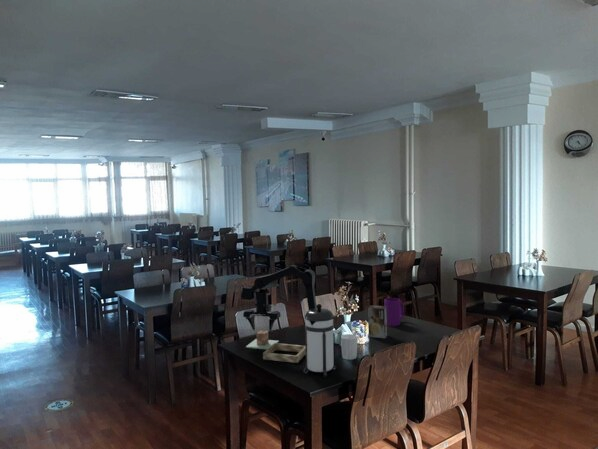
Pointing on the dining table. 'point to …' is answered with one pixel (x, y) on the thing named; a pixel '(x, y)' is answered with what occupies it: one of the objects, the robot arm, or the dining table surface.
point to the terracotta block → (262, 338)
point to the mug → (394, 311)
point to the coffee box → (377, 321)
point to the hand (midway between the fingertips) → (262, 330)
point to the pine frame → (283, 357)
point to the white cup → (349, 346)
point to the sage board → (254, 345)
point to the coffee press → (319, 340)
